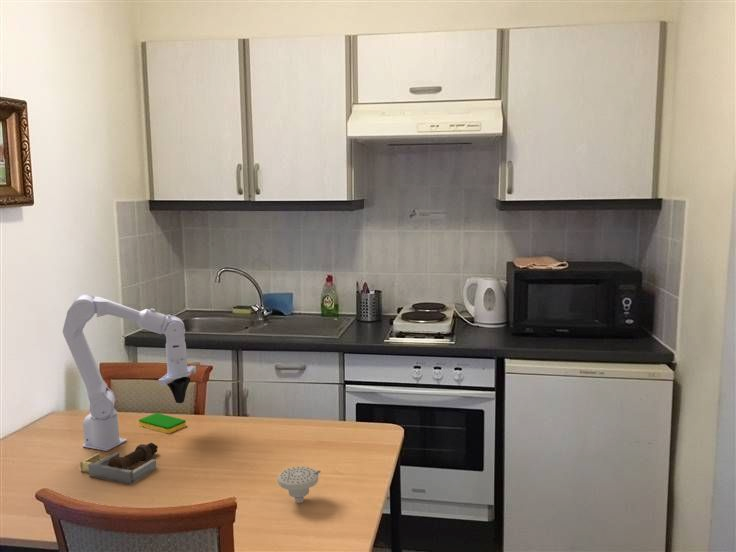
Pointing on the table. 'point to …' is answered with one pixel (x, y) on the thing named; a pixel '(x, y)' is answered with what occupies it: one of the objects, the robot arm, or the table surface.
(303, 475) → the showerhead
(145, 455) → the bolt
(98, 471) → the grey u-shaped bracket
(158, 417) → the dish sponge
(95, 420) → the robot arm
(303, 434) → the table surface
